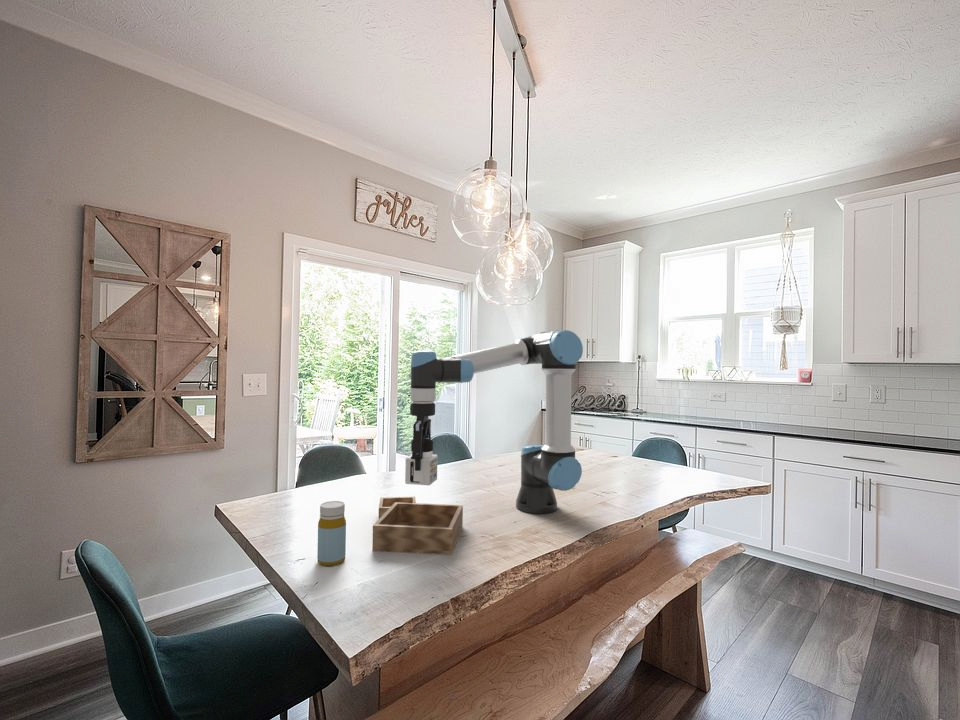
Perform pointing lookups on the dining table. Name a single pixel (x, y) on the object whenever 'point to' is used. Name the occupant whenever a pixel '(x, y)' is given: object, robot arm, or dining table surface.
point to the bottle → (331, 534)
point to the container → (428, 465)
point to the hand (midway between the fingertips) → (421, 477)
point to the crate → (419, 528)
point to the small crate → (389, 501)
